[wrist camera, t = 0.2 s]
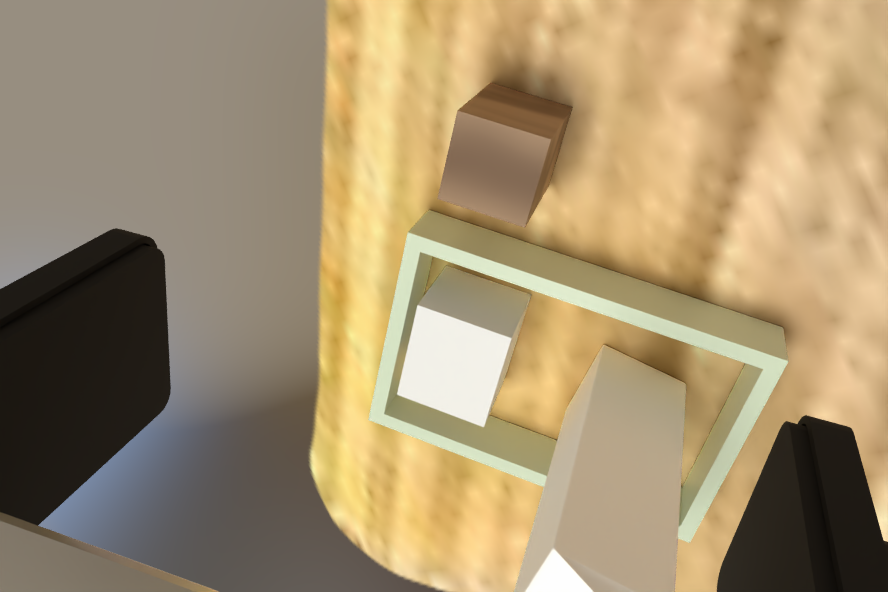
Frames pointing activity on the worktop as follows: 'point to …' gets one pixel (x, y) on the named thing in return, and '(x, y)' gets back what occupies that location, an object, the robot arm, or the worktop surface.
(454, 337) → the white block
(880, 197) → the worktop surface
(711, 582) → the worktop surface
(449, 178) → the walnut block
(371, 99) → the worktop surface
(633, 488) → the milk
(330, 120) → the worktop surface
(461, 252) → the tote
